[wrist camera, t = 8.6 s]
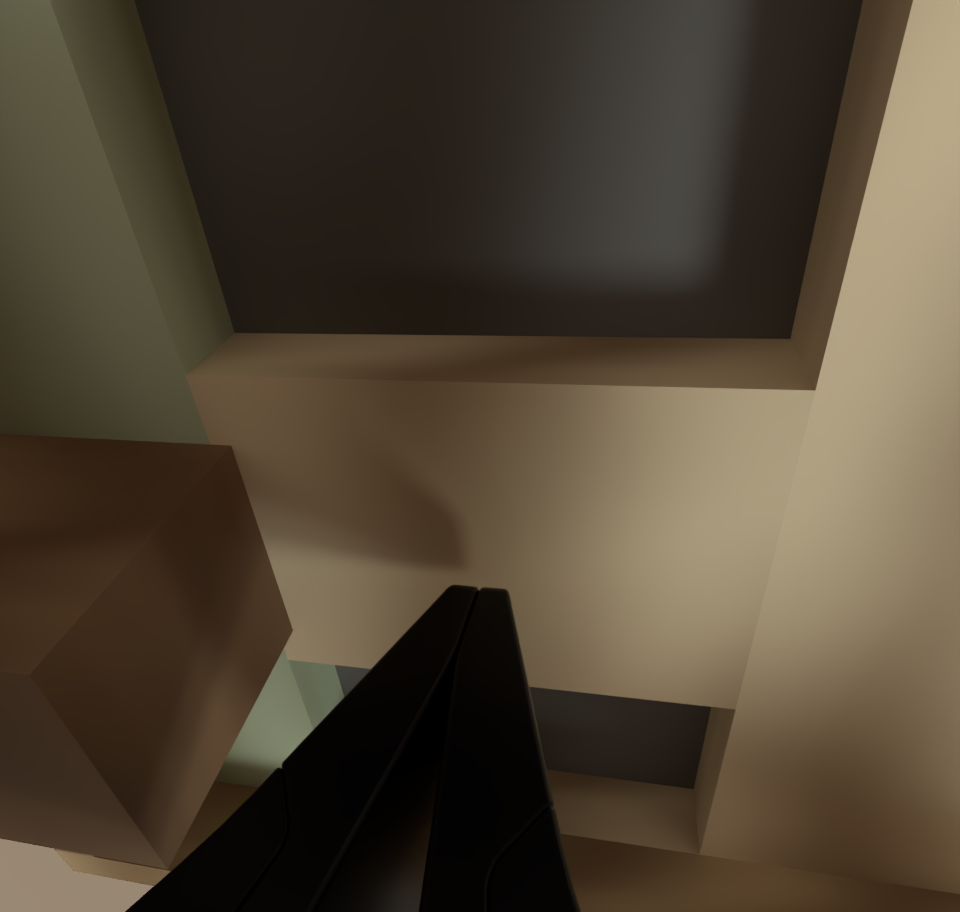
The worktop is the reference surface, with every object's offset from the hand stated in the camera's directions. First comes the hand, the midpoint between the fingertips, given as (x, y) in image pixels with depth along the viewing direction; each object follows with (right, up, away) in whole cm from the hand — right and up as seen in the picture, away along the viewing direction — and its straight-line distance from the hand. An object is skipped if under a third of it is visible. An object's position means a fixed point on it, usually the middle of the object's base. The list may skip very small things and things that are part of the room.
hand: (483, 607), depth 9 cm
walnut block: (-5, +1, +2) cm, 6 cm away
